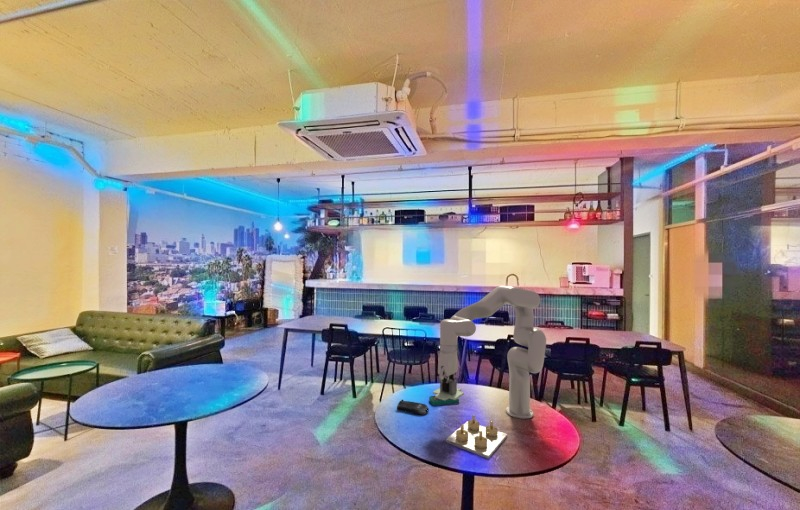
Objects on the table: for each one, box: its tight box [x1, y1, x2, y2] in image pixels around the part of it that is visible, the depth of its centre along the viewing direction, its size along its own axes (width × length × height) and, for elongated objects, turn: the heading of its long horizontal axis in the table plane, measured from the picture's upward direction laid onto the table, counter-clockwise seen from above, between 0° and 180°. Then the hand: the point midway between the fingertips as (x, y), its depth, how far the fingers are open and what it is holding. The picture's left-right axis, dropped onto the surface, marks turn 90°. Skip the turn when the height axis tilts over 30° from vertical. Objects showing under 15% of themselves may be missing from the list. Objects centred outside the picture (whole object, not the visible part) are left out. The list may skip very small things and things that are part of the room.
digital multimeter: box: [428, 395, 460, 406], centre depth 172 cm, size 7×15×3 cm, turn 104°
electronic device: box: [396, 399, 430, 416], centre depth 162 cm, size 9×6×15 cm
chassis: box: [445, 414, 508, 459], centre depth 135 cm, size 20×18×7 cm
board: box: [432, 379, 465, 400], centre depth 144 cm, size 14×11×6 cm
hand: (448, 389), depth 144 cm, fingers closed on board, 4 cm apart
